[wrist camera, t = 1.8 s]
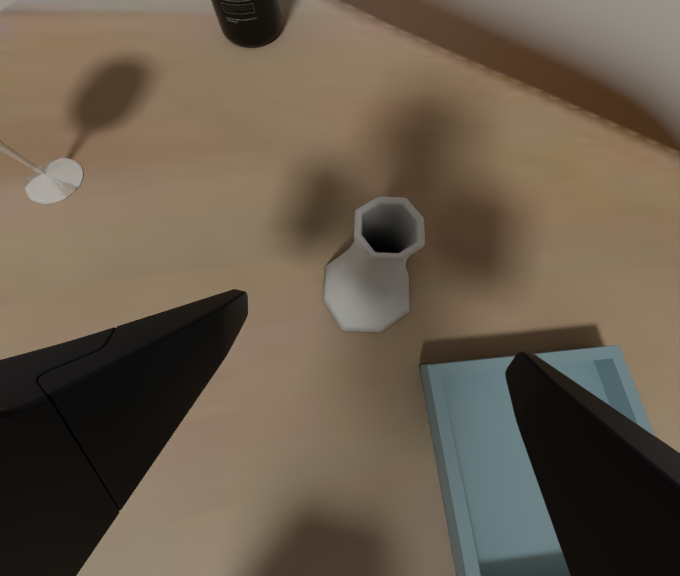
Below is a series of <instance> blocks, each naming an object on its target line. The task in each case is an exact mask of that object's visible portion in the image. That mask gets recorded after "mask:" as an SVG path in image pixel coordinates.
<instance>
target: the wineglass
mask: <svg viewBox="0 0 680 576" xmlns="http://www.w3.org/2000/svg"><path fill="white" fill-rule="evenodd" d="M0 150H1V151H3V152H4V153H6V154H8V155H10V156H11V157H13V158H15V159H16V160H18V161H20V162H21V163H23V164H25V165H26V166H28V167H30V168H31V169H33V170H34V171H33V172H32V173H31V174H30V175H29V177H28V179H27V181H26V187H25V189H26V193H27V195H28V196H29V197H30V199H31V200H33V201H35V202H37V203H43V204H50V203H55V202H59V201H61V200H63V199H66V198H67V197H68V196H70V195H71V194H73V193H74V192H75V191H76V189H77V188H78V187H79V186H80V183H81V181H82V179H83V171H82V168H81V166H80V165H79V164H78V163H77V162H76V161H74V160H71V159H68V158H57V159H52V160H49V161H47V162H44V163H43V164H41V165H40V166H36V165H35V164H34V163H32V162H31V161H29V160H28V159H26V158H25V157H23V156H22V155H21V154H19V153H18V152H16V151H15V150H13V149H12V148H11V147H9V146H8V145H6V144H5V143H3V142H2V141H1V140H0Z"/></svg>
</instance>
